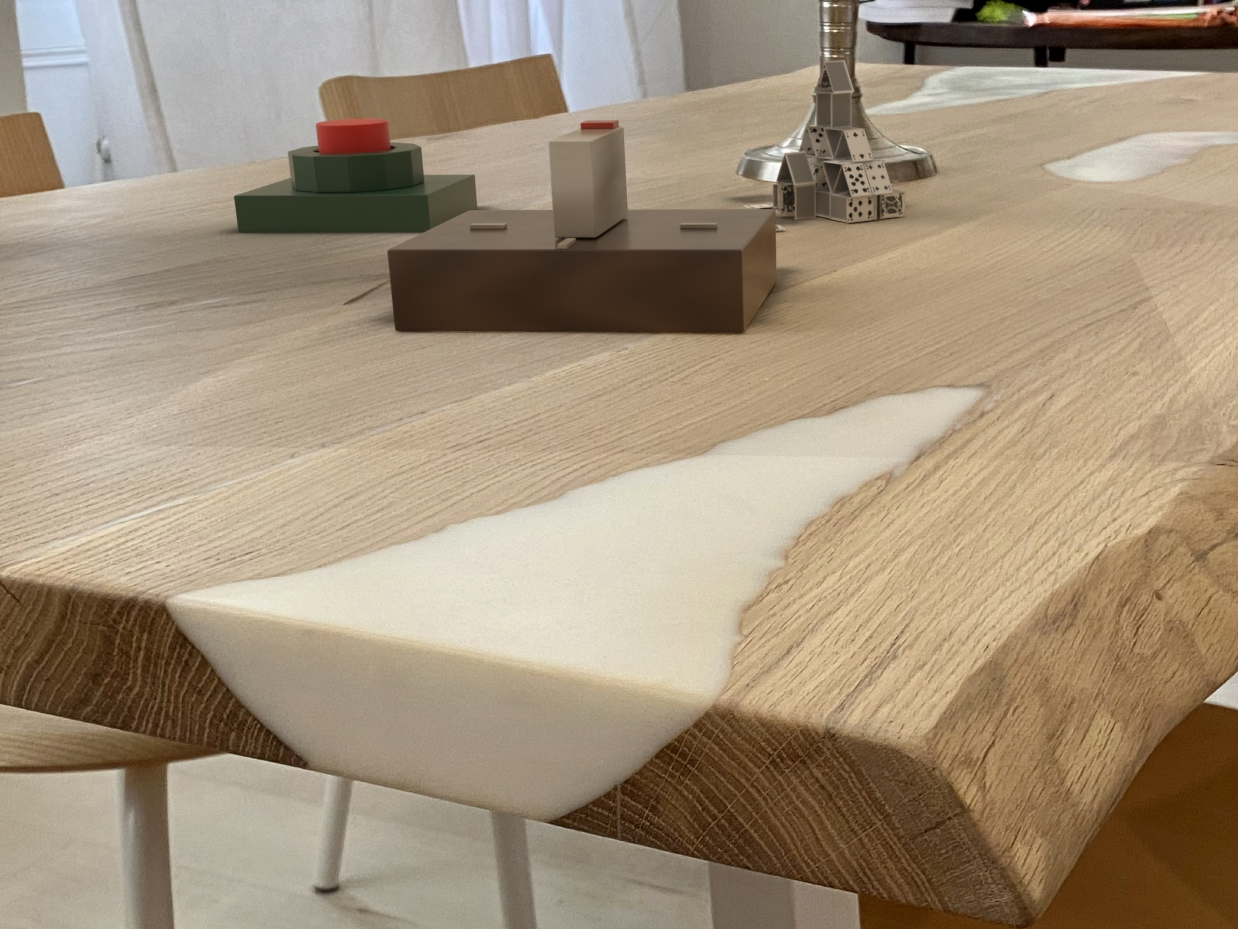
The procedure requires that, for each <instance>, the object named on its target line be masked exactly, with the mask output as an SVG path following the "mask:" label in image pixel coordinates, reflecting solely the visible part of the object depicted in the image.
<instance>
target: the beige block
mask: <svg viewBox="0 0 1238 929" xmlns="http://www.w3.org/2000/svg"><path fill="white" fill-rule="evenodd" d="M579 124H580V128H578V129H576V130H572V131H570V132H568V133H565V134H563V135H561V136H557V137H556V138H553V139H551V140H549V141H548V155H549V156H548V157H549V167H550V168H549V173H550V186H551V202H552V210H553V219H554V235H555V237H556V238H596V237H598V236H599V235H600V234H602V233H603V232H605V231H606V230H608V229H609V228H611V227H612V226H614V225H615V224H616V223H618V222H619V221H621V220H622V219H624V218H625V217H627V216H628V210H629V209H628V188H627V168H626V146H625V145H626V144H625V127H624V126H623V125H620V121H619V119H616V120H615V119H605V120H604V119H603V120H601V119H600V120H598V119H597V120H584V121H582V122H580V123H579Z"/></svg>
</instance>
